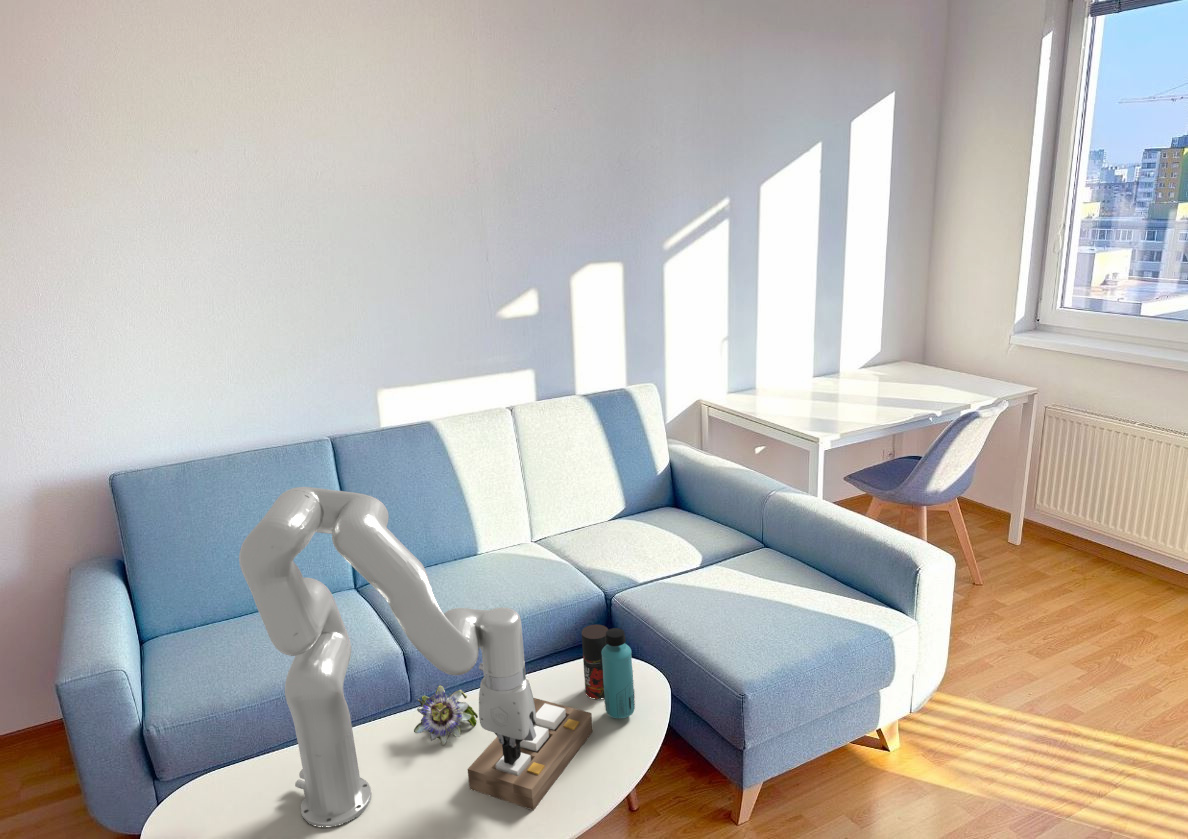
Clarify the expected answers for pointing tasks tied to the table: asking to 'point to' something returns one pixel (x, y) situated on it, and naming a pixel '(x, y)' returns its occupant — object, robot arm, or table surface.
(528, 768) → the keypad
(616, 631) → the beverage bottle
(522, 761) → the key left
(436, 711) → the passion flower
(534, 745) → the key middle
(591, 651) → the deodorant
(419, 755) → the table surface
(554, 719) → the key right
